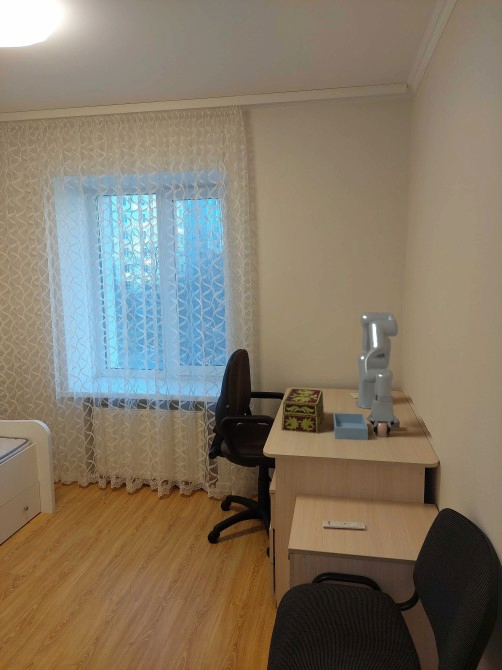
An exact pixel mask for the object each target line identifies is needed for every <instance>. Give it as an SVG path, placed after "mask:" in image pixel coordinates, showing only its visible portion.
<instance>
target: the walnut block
mask: <svg viewBox="0 0 502 670" xmlns="http://www.w3.org/2000/svg"><path fill="white" fill-rule="evenodd" d="M393 420H394V419H393ZM400 423H401V422H400V420H399V419H398V421H397V422H396V423H394V424H393V425H392V426H391V427H390V432H397V433H398V432H400V429H401V428H400V427H401V426H400V425H401V424H400Z"/></svg>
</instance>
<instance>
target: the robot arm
mask: <svg viewBox="0 0 502 670" xmlns="http://www.w3.org/2000/svg"><path fill="white" fill-rule="evenodd" d="M359 319H360V320H359V321H360V323H361V325H360V326H361V327H362V338H361V339H362V340H361V349H362V351H363V352H361V353H360V354H359V355H358V357H357V364H358V400H357V401H356V402H355V406H356V407H358V408H362V409H371V410H370V414H369V415H368V416H367V417H366V420H367V422H369V423H370V424H371V426H373V428H372V429H373V430H372V432H373V433H374V435H375V436H376V435H377V422H378V421H385V422H388V423H387V436H390V433H391V431H390V427H391V426H392V425H393V424H394V423H396V422H397V421H398V420H399V418H397V416H396V415H395V413H394V402H393V399H395V395H393V394H392V391H393V390H392V389H393V378H394V377H393V372H392V371H391V369H389V365H390V359H391V352H392V351H391V349H392V341H391V338H390V337H397V335H398V333H399V326H398V325H399V324H398V322H397V320H396V317H395V315H394V314H393V313H392V312H371V311H370V312H368V311H367V312H362V313H361V314H360V317H359ZM393 419H394V420H393Z"/></svg>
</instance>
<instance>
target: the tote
mask: <svg viewBox="0 0 502 670" xmlns="http://www.w3.org/2000/svg"><path fill="white" fill-rule="evenodd" d="M332 415H333V419H332V424H333V432H334V439H337V440H355V441H357V440H360V441H368V438H369V435H368V433H369V428H368V424H367V422H366V419H365V415H364V414H363V413H344V412H343V413H342V412H333V414H332Z"/></svg>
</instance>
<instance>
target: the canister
mask: <svg viewBox="0 0 502 670" xmlns="http://www.w3.org/2000/svg"><path fill="white" fill-rule="evenodd" d="M387 425H388V422H385V421H378V422H377V435H375V436H377V438H387V437H388V435H387Z"/></svg>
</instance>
